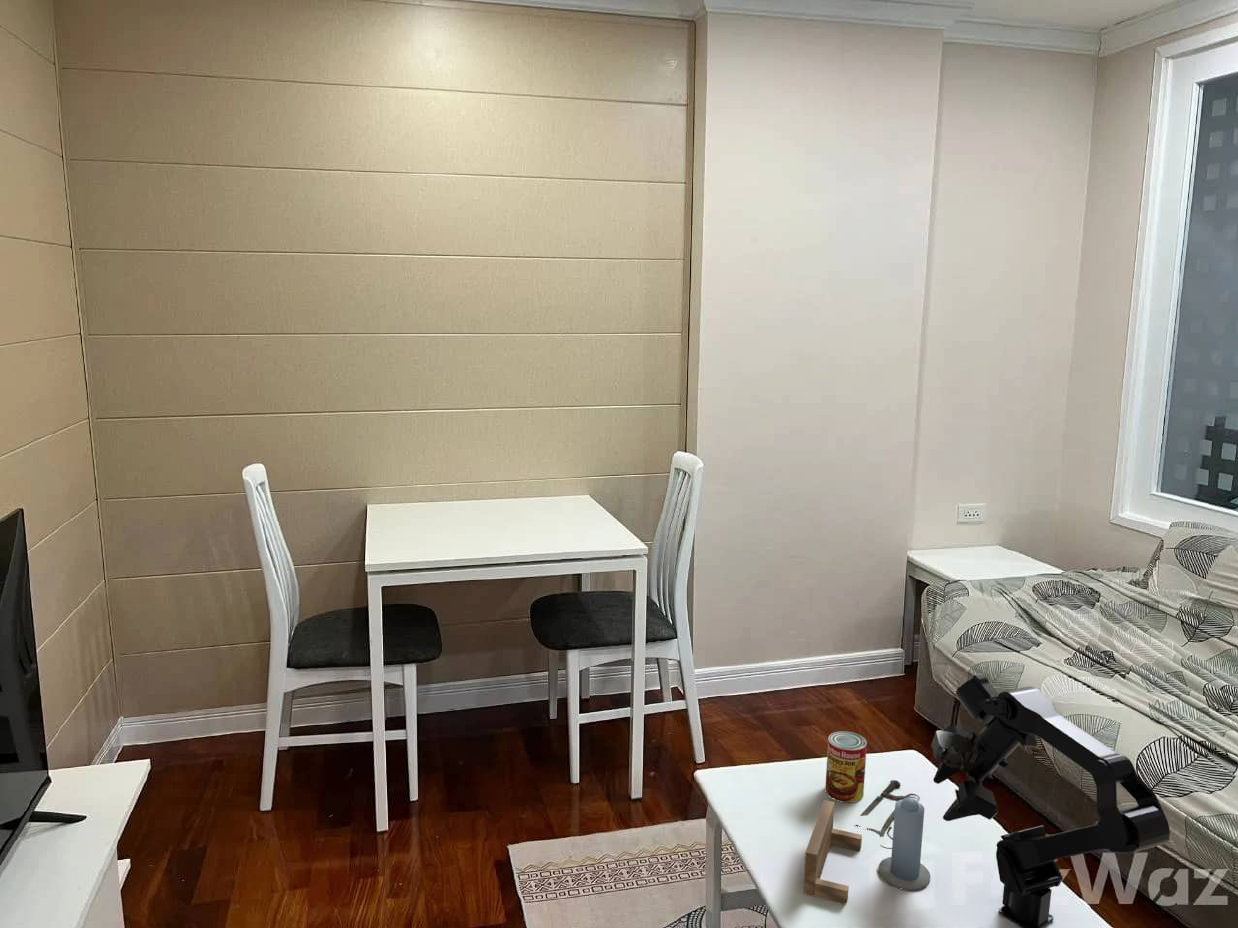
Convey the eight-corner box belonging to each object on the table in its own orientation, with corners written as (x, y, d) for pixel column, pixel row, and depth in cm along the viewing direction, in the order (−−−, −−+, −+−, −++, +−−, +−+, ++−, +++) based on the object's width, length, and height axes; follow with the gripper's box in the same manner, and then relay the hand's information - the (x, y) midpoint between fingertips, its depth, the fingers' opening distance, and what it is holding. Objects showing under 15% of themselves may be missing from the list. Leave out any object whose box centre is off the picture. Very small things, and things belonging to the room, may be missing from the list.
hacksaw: (892, 783, 201) (892, 776, 200) (939, 799, 194) (940, 793, 194) (842, 833, 182) (843, 826, 182) (893, 853, 176) (893, 846, 176)
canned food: (819, 794, 195) (822, 742, 193) (833, 778, 201) (836, 727, 199) (855, 807, 190) (858, 753, 188) (868, 790, 197) (872, 737, 195)
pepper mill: (925, 873, 168) (931, 800, 165) (907, 883, 165) (912, 809, 162) (902, 859, 172) (908, 788, 169) (884, 869, 169) (889, 796, 167)
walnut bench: (861, 846, 177) (863, 808, 176) (846, 903, 161) (849, 862, 159) (821, 837, 180) (823, 799, 178) (803, 892, 164) (805, 852, 162)
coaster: (940, 878, 168) (940, 875, 168) (908, 896, 163) (908, 893, 163) (900, 853, 175) (900, 850, 175) (868, 870, 170) (868, 867, 170)
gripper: (944, 688, 169) (894, 745, 176) (966, 759, 152) (910, 819, 159) (996, 716, 170) (944, 771, 176) (1023, 789, 153) (965, 847, 160)
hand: (940, 800), depth 168 cm, fingers open, 9 cm apart
